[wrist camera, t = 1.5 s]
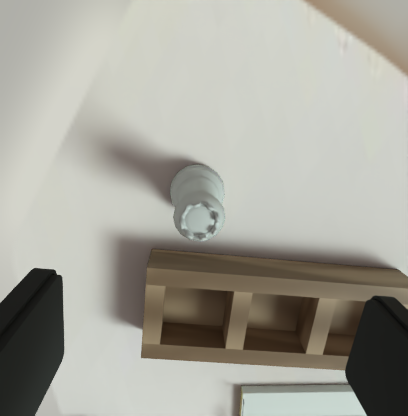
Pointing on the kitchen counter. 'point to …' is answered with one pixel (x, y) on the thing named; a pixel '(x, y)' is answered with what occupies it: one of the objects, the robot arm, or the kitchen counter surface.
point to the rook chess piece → (198, 202)
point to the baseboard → (299, 401)
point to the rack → (258, 309)
